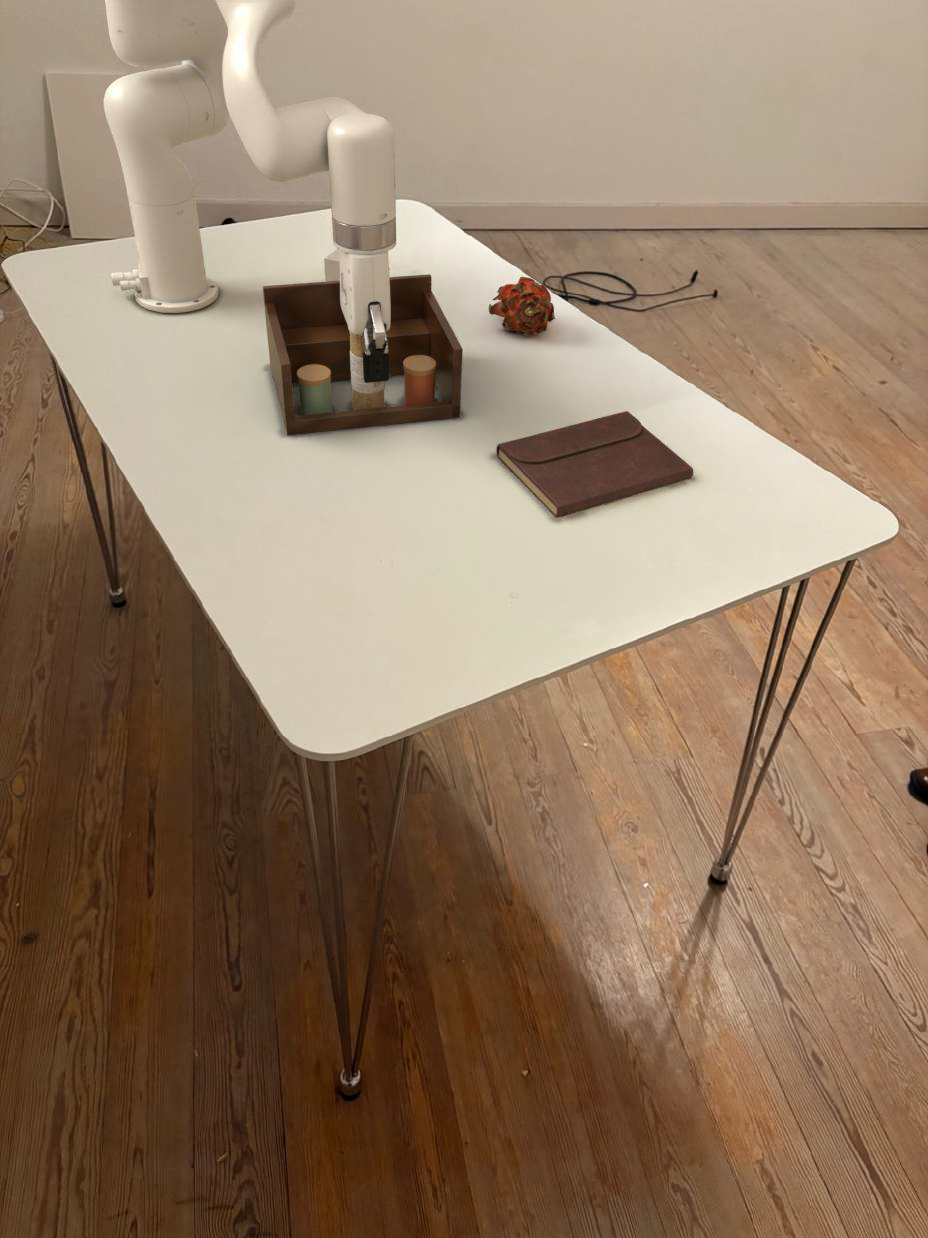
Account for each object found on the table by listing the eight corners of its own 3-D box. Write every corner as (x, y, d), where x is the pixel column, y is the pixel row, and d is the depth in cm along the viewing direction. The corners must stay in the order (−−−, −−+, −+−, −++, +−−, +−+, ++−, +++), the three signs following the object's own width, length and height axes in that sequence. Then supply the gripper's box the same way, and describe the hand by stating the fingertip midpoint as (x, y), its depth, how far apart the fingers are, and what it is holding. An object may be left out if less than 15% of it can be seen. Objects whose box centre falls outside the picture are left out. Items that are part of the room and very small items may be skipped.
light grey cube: (326, 295, 161) (323, 258, 157) (344, 281, 165) (342, 244, 161) (359, 303, 159) (358, 265, 155) (377, 288, 163) (376, 252, 159)
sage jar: (302, 423, 133) (299, 382, 129) (297, 406, 136) (294, 365, 132) (335, 419, 134) (333, 378, 130) (330, 402, 137) (328, 362, 133)
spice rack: (287, 435, 130) (279, 349, 122) (270, 367, 143) (262, 285, 135) (459, 417, 135) (463, 333, 127) (428, 353, 148) (430, 273, 140)
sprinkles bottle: (372, 395, 138) (370, 302, 129) (392, 409, 136) (391, 315, 127) (344, 405, 136) (340, 311, 127) (364, 420, 134) (361, 325, 125)
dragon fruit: (539, 358, 151) (497, 335, 160) (578, 316, 151) (534, 296, 160) (511, 319, 146) (469, 298, 154) (551, 275, 145) (507, 256, 154)
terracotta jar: (406, 412, 136) (407, 372, 132) (400, 396, 139) (399, 356, 135) (438, 409, 137) (439, 369, 132) (431, 393, 140) (432, 353, 136)
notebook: (692, 479, 126) (695, 466, 125) (557, 519, 119) (559, 505, 118) (623, 421, 136) (625, 408, 135) (495, 455, 129) (496, 441, 127)
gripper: (321, 206, 125) (329, 335, 137) (345, 261, 113) (352, 398, 124) (381, 202, 127) (384, 330, 138) (411, 256, 115) (412, 392, 126)
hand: (369, 362), depth 131 cm, fingers open, 9 cm apart
